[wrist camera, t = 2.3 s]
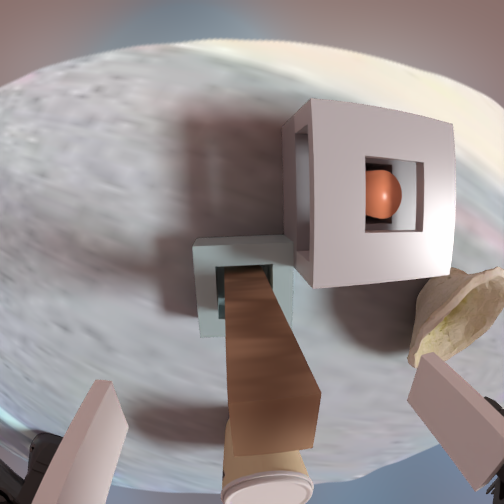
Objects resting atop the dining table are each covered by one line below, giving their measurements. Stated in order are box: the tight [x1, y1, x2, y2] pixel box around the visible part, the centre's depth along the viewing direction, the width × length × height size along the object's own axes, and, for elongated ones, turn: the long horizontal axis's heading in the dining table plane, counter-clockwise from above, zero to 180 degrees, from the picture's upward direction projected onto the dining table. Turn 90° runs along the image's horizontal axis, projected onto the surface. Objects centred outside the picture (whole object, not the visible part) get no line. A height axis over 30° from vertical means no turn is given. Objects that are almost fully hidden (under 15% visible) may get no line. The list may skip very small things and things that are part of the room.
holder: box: [192, 235, 294, 338], centre depth 26 cm, size 8×8×4 cm
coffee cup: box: [221, 418, 314, 504], centre depth 26 cm, size 9×9×12 cm
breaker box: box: [282, 98, 456, 289], centre depth 22 cm, size 12×12×10 cm
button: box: [365, 170, 402, 219], centre depth 22 cm, size 4×4×5 cm
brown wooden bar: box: [224, 265, 321, 457], centre depth 18 cm, size 3×3×18 cm
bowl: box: [407, 267, 504, 368], centre depth 26 cm, size 15×14×10 cm
